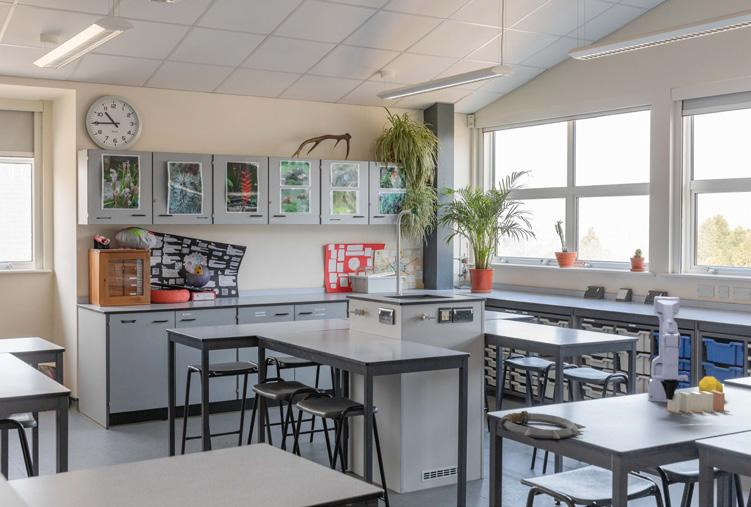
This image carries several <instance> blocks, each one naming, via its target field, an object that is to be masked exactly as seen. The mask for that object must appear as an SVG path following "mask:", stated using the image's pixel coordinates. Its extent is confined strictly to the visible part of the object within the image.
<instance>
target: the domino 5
mask: <svg viewBox="0 0 751 507" xmlns="http://www.w3.org/2000/svg"><path fill="white" fill-rule="evenodd" d="M712 393H713V409H714V410H717V411H724V410H725V396H726V395H725V392H723V393H721V392H718V391H712Z"/></svg>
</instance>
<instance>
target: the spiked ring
mask: <svg viewBox="0 0 751 507" xmlns="http://www.w3.org/2000/svg"><path fill="white" fill-rule="evenodd" d="M529 422H531V423H532V422H533V423H543V424H549V425H554V424H555V426H559V427H562V429H561V428H560V429H559V428H558V429H547V428H536V427H535V428H534V427H528V426H524V425H519V424H516V423H522V424H528V423H529ZM498 426H499V428H500V429H501V430H503V431H508V432H510V433H513V434H516V435H520V436H524V437H528V438H535V439H555V440H556V439H564V438H568V437H576V436H584V434H583V433H581V432H579V430H581V429H585V428H587V427H586V426H585V425H581V424H578V423H575V422H573V421H571V420H569V419H567V418H564V417H560V416H556V415H552V414H545V413H539V412H538V413H534V412H533V413H532V412H528V411H527V410H521V412H512V413H508V414H506V415H504V416H502V417H501V418H500V419H499V421H498Z"/></svg>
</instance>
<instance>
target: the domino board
mask: <svg viewBox="0 0 751 507" xmlns="http://www.w3.org/2000/svg"><path fill="white" fill-rule="evenodd" d="M660 411H664V412H666V413H668V414H672V415H677V414H678V415H679V414H680V415H682V414H707V413H708V414H710V413H731V411H729V410H726V409H724V411H717V410H714V409H713V412H708V411H705V410H702V412H696V411H693V410H690V412H683V411H680V410H679V413H676V412H672V411H669V410H667V408H663V409H660Z"/></svg>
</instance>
